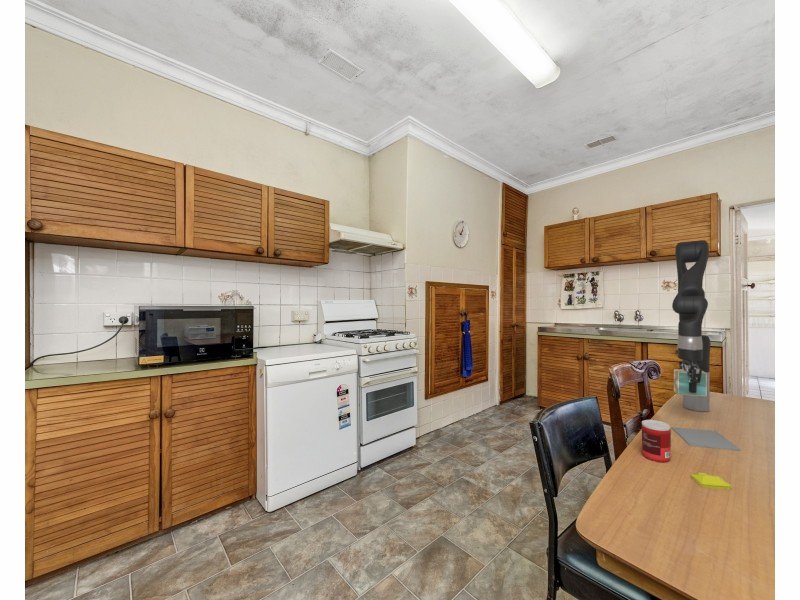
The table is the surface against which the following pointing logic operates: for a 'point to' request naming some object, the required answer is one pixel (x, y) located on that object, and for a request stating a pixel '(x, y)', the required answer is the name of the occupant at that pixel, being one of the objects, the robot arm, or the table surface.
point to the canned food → (656, 441)
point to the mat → (705, 438)
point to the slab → (683, 383)
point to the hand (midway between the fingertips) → (689, 390)
